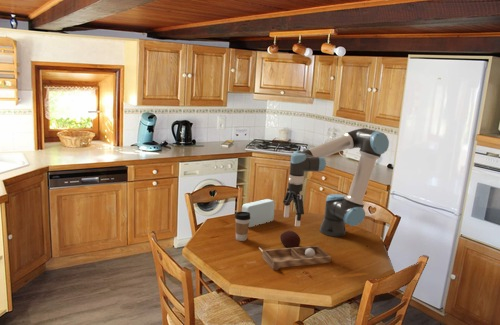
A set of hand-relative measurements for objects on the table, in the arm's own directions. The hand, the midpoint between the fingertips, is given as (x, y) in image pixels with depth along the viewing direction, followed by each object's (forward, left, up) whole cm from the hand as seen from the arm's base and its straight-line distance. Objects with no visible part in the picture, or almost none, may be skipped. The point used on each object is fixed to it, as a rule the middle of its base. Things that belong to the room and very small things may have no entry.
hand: (291, 221), depth 235 cm
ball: (-4, +16, -14) cm, 21 cm away
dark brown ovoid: (0, 0, -15) cm, 15 cm away
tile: (+14, +3, -15) cm, 20 cm away
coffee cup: (+22, -16, -15) cm, 31 cm away
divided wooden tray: (+4, +16, -15) cm, 22 cm away
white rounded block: (+4, -38, -15) cm, 41 cm away
